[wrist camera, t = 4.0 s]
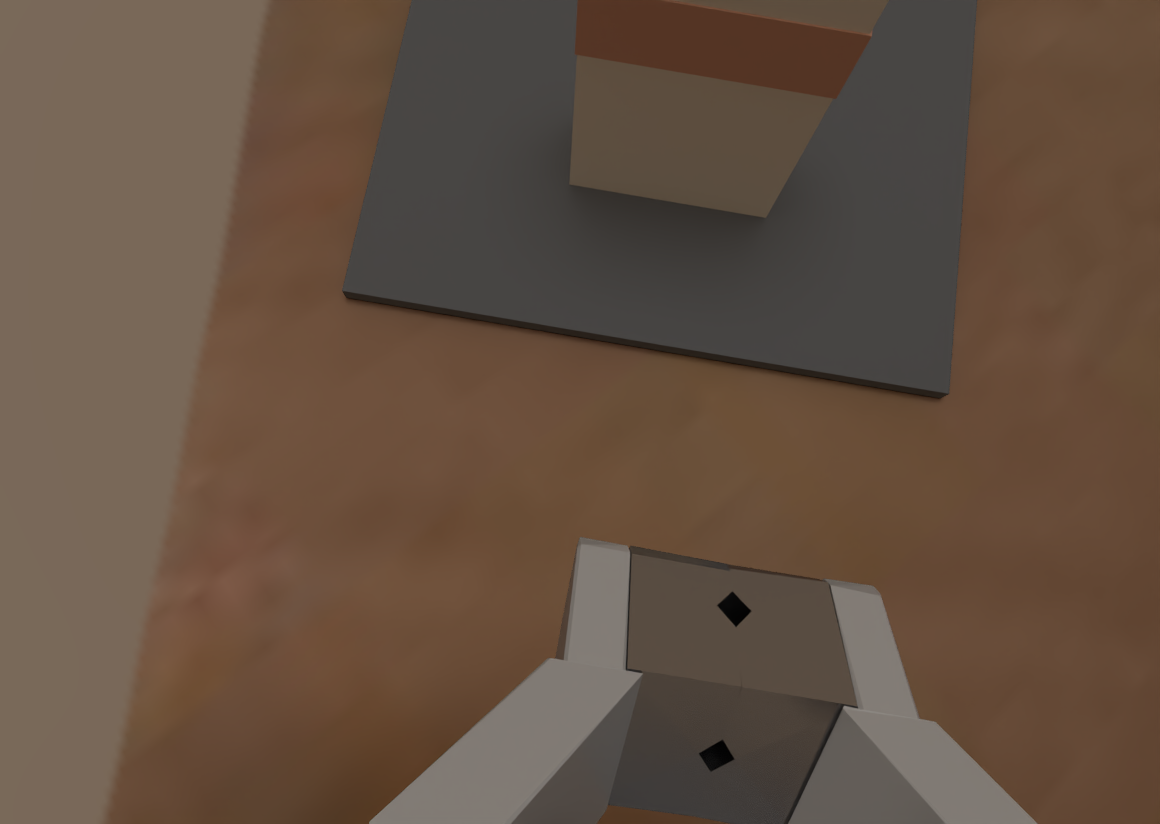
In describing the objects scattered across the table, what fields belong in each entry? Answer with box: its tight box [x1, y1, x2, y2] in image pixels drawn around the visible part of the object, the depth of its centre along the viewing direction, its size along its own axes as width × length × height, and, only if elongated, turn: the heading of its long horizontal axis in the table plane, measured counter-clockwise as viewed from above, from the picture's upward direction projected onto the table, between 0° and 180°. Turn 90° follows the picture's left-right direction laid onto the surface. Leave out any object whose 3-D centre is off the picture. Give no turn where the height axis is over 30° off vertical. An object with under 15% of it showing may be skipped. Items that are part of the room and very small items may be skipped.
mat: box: [342, 0, 977, 398], centre depth 30 cm, size 19×22×1 cm
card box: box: [569, 0, 889, 218], centre depth 22 cm, size 6×2×12 cm, turn 81°
